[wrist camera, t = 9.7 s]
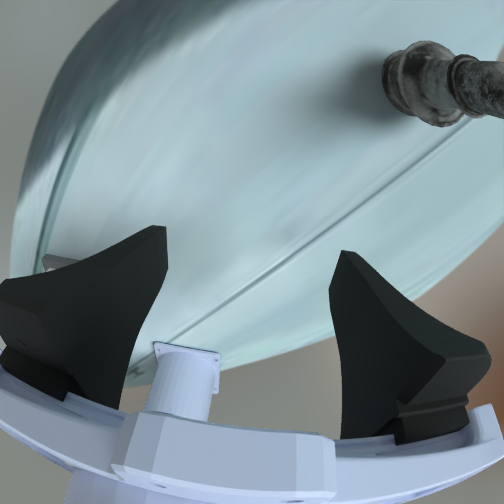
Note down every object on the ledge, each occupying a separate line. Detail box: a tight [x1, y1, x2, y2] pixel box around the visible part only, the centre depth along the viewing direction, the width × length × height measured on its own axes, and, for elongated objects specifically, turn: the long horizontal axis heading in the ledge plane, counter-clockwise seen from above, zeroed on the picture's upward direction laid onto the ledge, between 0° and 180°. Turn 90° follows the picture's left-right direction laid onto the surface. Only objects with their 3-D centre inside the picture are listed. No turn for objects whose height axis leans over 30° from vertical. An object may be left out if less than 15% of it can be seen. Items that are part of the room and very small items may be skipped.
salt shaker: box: [382, 41, 504, 127], centre depth 10 cm, size 6×6×12 cm
